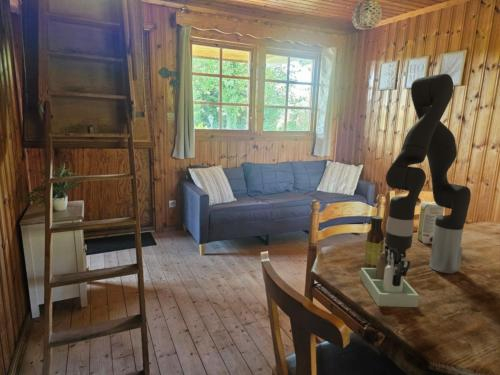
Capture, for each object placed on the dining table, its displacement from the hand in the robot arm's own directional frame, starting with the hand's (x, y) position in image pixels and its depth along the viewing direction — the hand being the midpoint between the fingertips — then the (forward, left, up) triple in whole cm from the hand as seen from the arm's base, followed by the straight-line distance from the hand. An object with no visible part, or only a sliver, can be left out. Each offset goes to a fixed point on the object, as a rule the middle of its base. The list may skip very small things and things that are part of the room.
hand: (393, 282), depth 103 cm
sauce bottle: (-2, -23, -6) cm, 24 cm away
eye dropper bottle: (0, 0, -3) cm, 3 cm away
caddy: (0, -4, -6) cm, 7 cm away
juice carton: (-38, -53, -6) cm, 65 cm away
